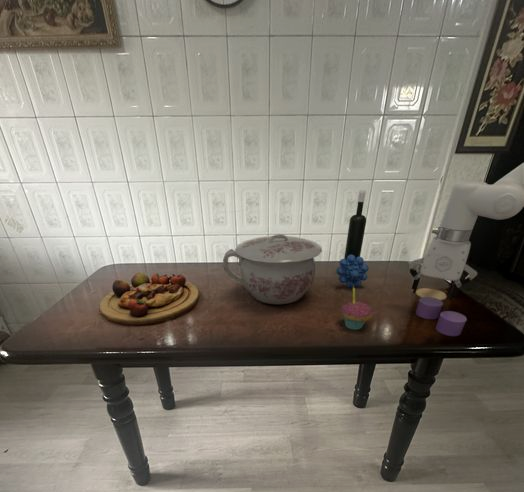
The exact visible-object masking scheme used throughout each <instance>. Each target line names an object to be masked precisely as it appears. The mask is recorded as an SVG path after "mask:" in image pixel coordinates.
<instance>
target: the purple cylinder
mask: <svg viewBox="0 0 524 492" xmlns="http://www.w3.org/2000/svg"><path fill="white" fill-rule="evenodd" d="M443 306H444V302H443V300H442V301H441V300H439V299H437V298H433V297H422V298H421V297H419V301H418V303H417V306H416V310H415V314H416V316H417V317H420V318H422V319H426V320H436V319H437V320H438V319H439V316H440V314H441V312H442V308H443Z"/></svg>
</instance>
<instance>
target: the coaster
mask: <svg viewBox="0 0 524 492" xmlns="http://www.w3.org/2000/svg"><path fill="white" fill-rule="evenodd" d="M415 294H416V296H418V297H419V298H422V297H433V298H437V299H439V300H441V301H442V302H443V301H444V300H446V299H447V297H448V296H447V294H446V293H445V292H443V291H441V290H439V289H435V288H429V287H427V288H426V287H423V288H417V290H416V293H415Z"/></svg>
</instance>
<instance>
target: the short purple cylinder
mask: <svg viewBox="0 0 524 492" xmlns="http://www.w3.org/2000/svg"><path fill="white" fill-rule="evenodd" d="M467 321H468V318H467V317H466V315H464V314H462V313H460V312H457V311H452V310H445V311H444V310H443V311H441V312H440V314H439V317H438V318H437V322H436V324H435V331H437V332H438V333H440V334H442V335H444V336H448V337H458V336H460V335H462V332H463V330H464V328H465V325H466V323H467Z"/></svg>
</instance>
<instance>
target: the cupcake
mask: <svg viewBox="0 0 524 492" xmlns="http://www.w3.org/2000/svg"><path fill="white" fill-rule="evenodd" d="M340 314H341V316H342V317H343V319H344V325H345V327H346V328H348V329H350V330H354V331H356V330H361V329H362V328H363V327H364V325H365V323H366V322H368V321H370V320H371V319H372V317H373V309H372V307H371V306H370V305H368V304H367V303H365V302H363V301H359V300H358V301H357V300H356V288H355V285H353V286H352V301H349V302H347V303H345V304H343V305H342V306H341V308H340Z"/></svg>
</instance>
